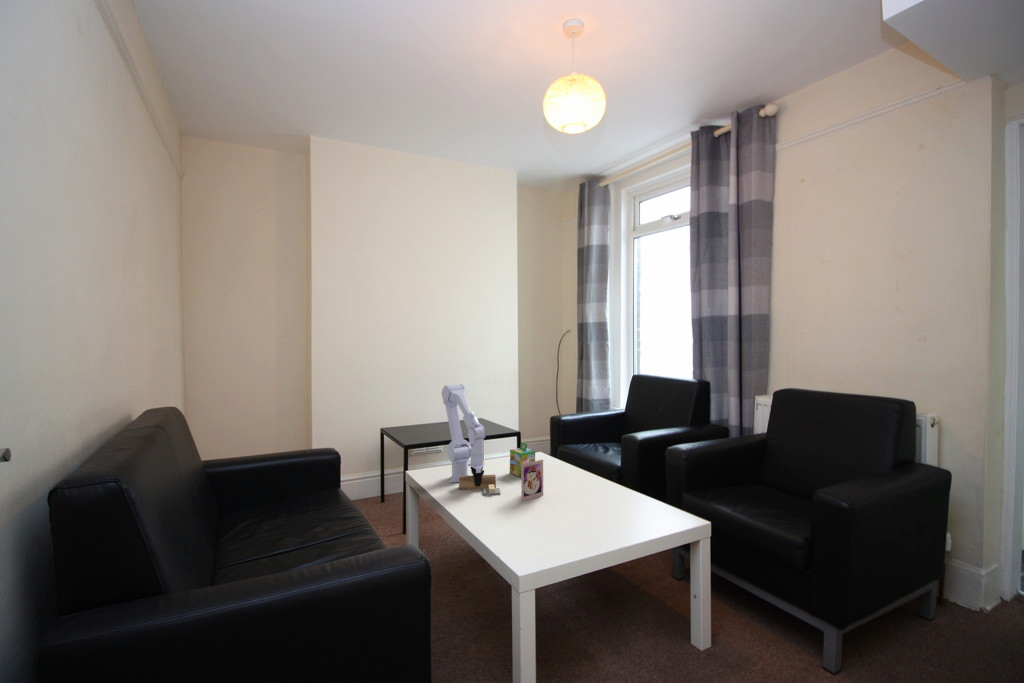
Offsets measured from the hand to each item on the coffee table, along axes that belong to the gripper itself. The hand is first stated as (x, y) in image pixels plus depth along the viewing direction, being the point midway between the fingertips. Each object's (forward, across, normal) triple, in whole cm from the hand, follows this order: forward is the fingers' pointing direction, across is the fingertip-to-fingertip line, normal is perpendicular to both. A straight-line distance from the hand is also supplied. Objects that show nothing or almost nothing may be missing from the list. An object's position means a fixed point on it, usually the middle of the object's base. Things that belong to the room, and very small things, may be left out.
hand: (477, 484), depth 205 cm
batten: (+2, 0, 0) cm, 2 cm away
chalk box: (+2, -17, +23) cm, 28 cm away
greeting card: (+2, +14, +20) cm, 25 cm away
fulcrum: (+1, +7, +6) cm, 9 cm away
